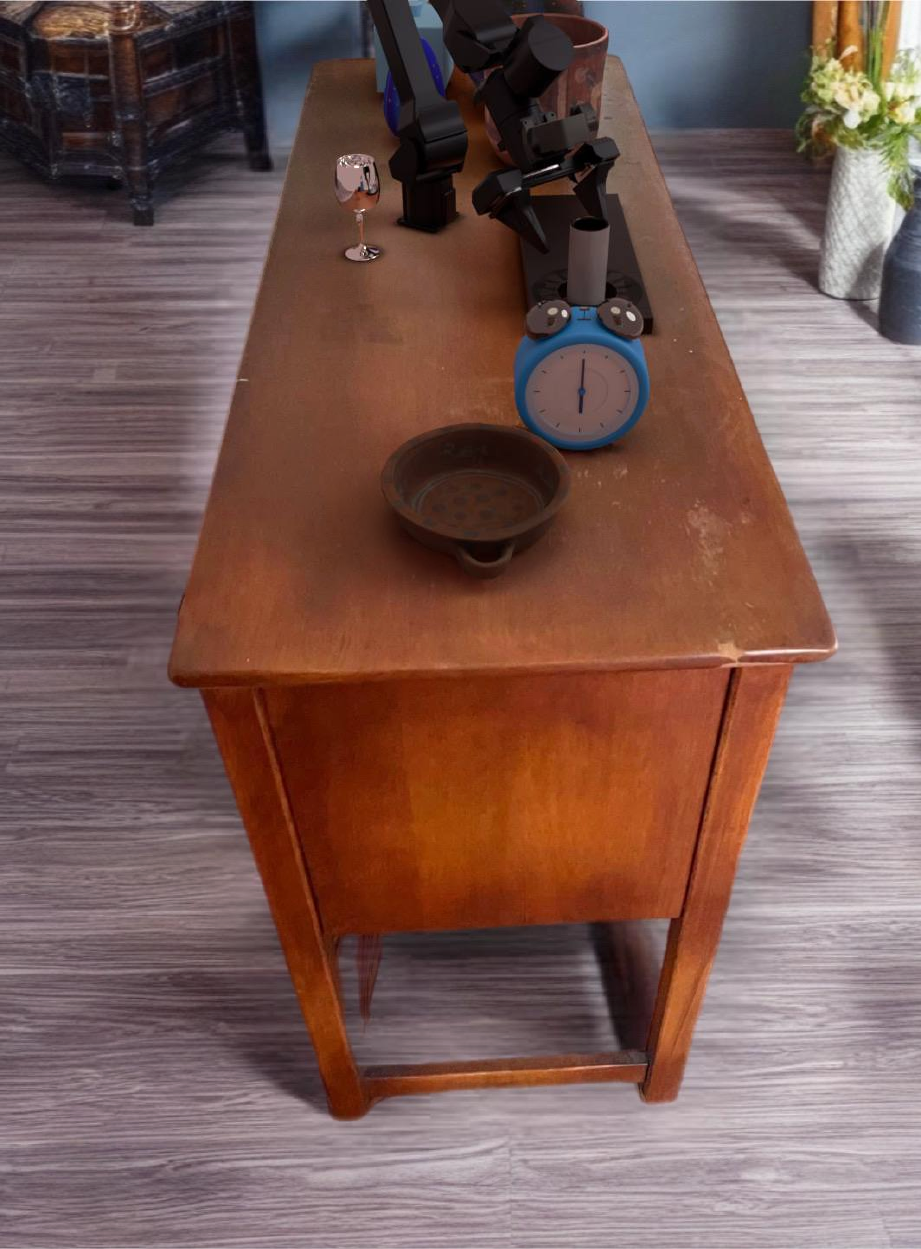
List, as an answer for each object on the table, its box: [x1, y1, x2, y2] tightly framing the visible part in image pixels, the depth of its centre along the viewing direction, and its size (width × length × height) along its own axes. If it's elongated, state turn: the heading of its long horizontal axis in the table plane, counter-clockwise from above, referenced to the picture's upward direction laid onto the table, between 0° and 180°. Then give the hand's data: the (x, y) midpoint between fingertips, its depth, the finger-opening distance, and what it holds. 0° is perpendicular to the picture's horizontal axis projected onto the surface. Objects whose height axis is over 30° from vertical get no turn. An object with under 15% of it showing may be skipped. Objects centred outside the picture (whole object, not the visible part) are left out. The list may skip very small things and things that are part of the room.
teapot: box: [373, 0, 455, 93], centre depth 199 cm, size 22×11×14 cm, turn 173°
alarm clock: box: [513, 298, 651, 451], centre depth 117 cm, size 13×6×15 cm, turn 89°
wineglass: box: [333, 153, 381, 262], centre depth 151 cm, size 6×6×12 cm
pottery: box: [484, 13, 610, 173], centre depth 172 cm, size 18×18×18 cm
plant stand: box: [518, 193, 654, 334], centre depth 150 cm, size 36×14×2 cm, turn 1°
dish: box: [379, 422, 572, 580], centre depth 110 cm, size 18×22×5 cm
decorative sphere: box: [467, 0, 585, 87], centre depth 188 cm, size 19×20×20 cm
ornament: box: [382, 37, 447, 139], centre depth 180 cm, size 11×9×15 cm
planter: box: [566, 215, 610, 305], centre depth 140 cm, size 4×4×10 cm
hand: (577, 242), depth 139 cm, fingers open, 9 cm apart
